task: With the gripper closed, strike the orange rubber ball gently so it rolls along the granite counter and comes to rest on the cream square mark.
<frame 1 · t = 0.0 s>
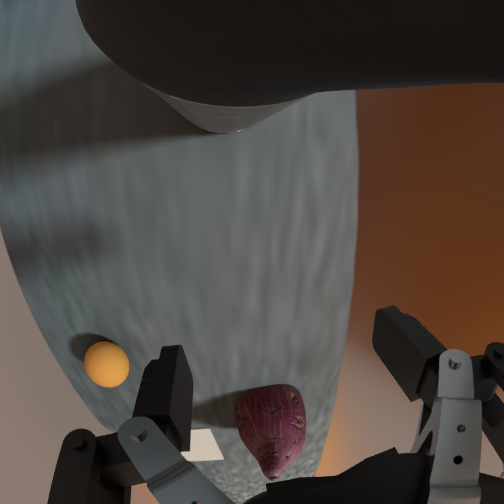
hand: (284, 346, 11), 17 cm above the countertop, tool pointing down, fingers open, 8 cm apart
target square: (183, 446, 39), on the countertop
vegetable: (268, 405, 37), on the countertop
ball: (106, 364, 28), on the countertop
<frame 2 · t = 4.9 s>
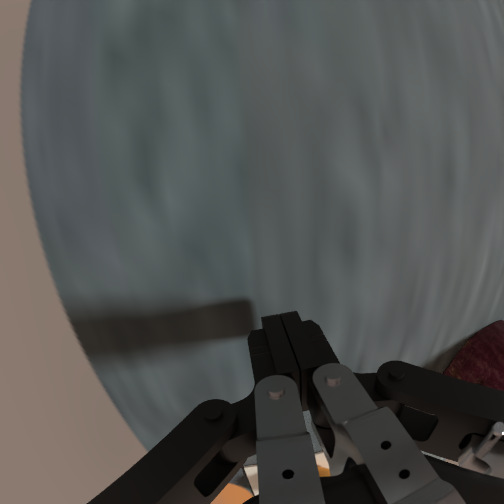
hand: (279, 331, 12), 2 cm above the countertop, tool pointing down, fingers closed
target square: (312, 477, 21), on the countertop
vegetable: (470, 366, 18), on the countertop
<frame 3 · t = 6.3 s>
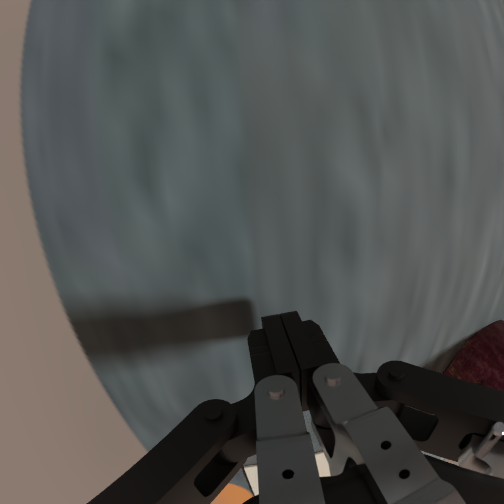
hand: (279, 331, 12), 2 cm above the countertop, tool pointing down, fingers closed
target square: (312, 477, 21), on the countertop
vegetable: (470, 366, 18), on the countertop
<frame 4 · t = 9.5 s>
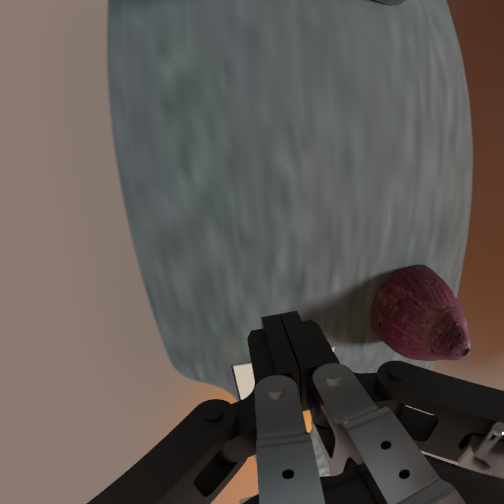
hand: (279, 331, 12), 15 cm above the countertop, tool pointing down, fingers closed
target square: (287, 389, 33), on the countertop
vegetable: (403, 302, 31), on the countertop
ball: (292, 422, 32), on the countertop
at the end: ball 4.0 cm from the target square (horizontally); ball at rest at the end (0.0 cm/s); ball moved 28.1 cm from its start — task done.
